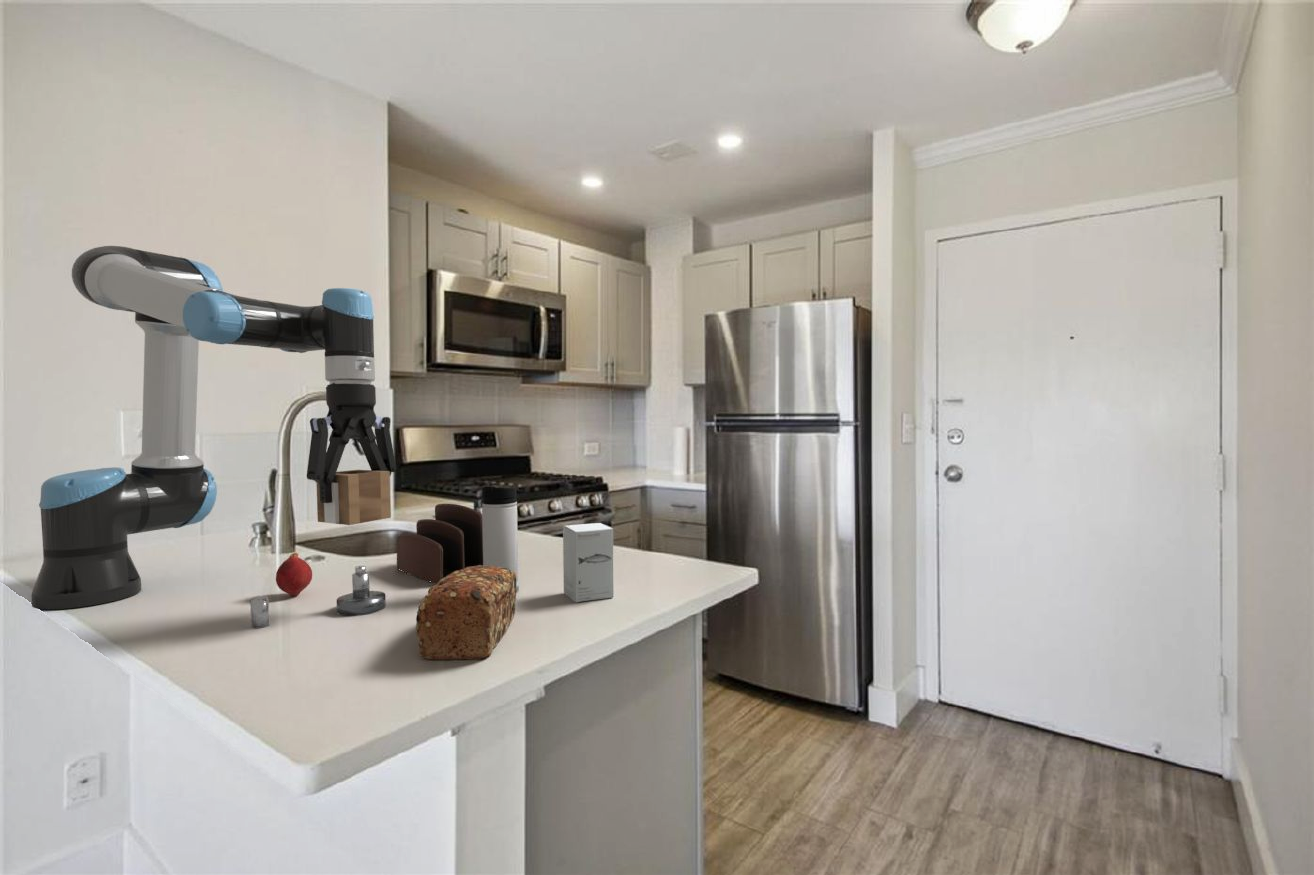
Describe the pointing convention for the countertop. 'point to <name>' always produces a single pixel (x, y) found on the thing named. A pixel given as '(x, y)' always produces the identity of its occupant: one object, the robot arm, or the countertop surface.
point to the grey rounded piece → (259, 612)
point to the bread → (466, 613)
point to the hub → (361, 596)
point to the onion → (293, 575)
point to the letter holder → (442, 543)
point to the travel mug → (500, 528)
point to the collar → (360, 496)
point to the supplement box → (588, 561)
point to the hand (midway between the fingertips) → (355, 518)
